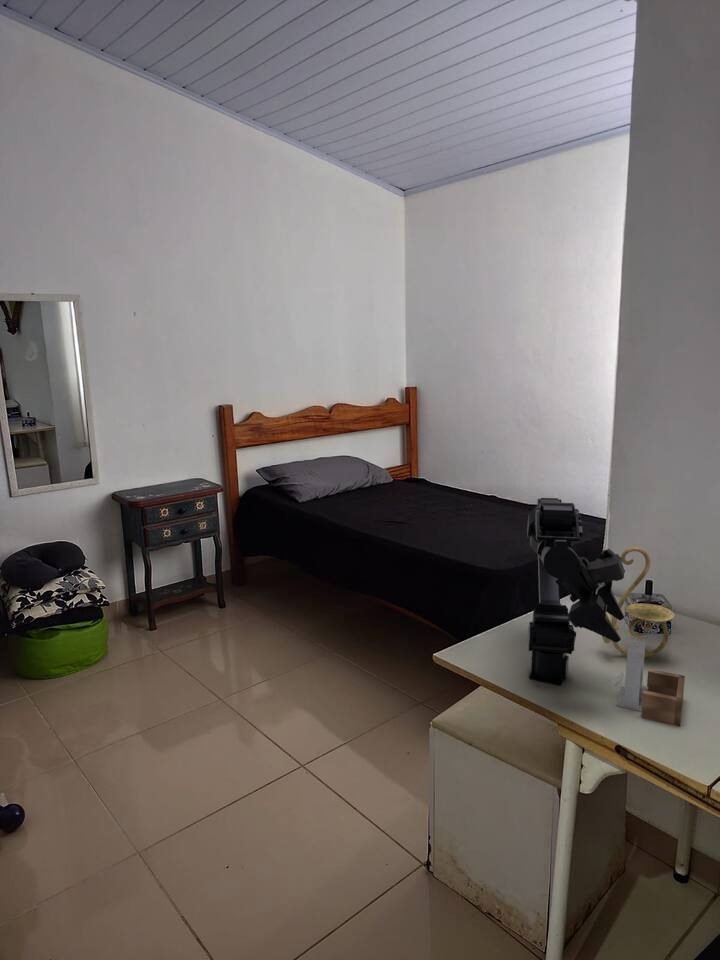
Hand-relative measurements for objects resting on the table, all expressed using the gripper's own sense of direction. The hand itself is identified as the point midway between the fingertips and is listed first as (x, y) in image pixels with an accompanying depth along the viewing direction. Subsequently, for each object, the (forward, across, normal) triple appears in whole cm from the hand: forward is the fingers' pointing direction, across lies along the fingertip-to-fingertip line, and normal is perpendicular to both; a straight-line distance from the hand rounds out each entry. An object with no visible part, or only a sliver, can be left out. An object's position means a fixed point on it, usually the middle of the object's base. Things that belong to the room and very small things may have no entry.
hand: (620, 629), depth 120 cm
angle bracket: (+12, -1, +7) cm, 14 cm away
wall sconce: (+14, +19, +8) cm, 25 cm away
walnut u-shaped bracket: (+16, -2, +3) cm, 16 cm away
